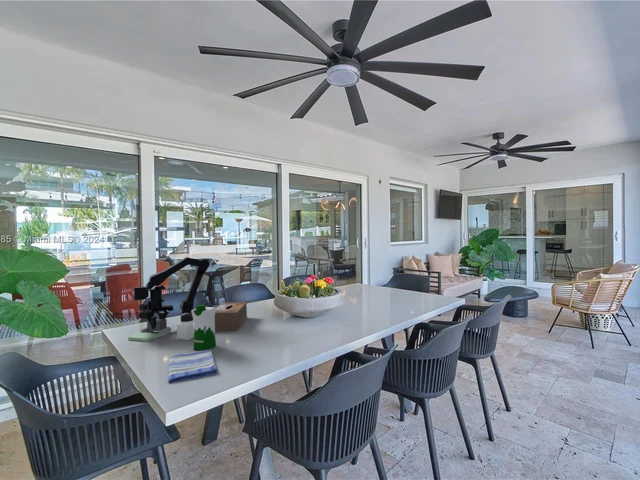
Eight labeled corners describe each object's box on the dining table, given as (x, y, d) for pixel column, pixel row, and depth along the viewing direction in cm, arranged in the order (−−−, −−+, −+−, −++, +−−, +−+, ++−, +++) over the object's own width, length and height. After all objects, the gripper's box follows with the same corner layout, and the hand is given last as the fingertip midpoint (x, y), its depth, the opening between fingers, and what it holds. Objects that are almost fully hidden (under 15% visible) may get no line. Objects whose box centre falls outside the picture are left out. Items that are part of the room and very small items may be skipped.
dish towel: (213, 353, 140) (212, 347, 140) (218, 375, 119) (218, 368, 119) (169, 361, 133) (169, 354, 133) (166, 385, 112) (166, 377, 112)
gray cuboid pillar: (166, 328, 171) (166, 319, 171) (159, 331, 166) (159, 321, 166) (154, 327, 174) (154, 318, 173) (147, 330, 169) (146, 321, 169)
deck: (170, 332, 171) (170, 326, 171) (148, 341, 156) (148, 335, 156) (151, 331, 174) (151, 325, 174) (127, 340, 160) (127, 334, 160)
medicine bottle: (198, 336, 164) (197, 312, 163) (187, 340, 157) (186, 316, 157) (188, 334, 167) (187, 311, 166) (176, 338, 160) (176, 315, 160)
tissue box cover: (223, 318, 197) (222, 302, 197) (246, 318, 198) (246, 302, 198) (210, 331, 172) (209, 313, 171) (237, 331, 172) (236, 312, 172)
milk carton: (190, 350, 144) (189, 305, 143) (203, 343, 152) (202, 301, 152) (206, 352, 141) (205, 307, 140) (219, 345, 149) (218, 302, 149)
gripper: (157, 294, 181) (157, 321, 181) (129, 301, 163) (130, 332, 163) (173, 295, 178) (174, 323, 178) (147, 302, 160) (148, 333, 160)
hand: (157, 327), depth 170 cm, fingers closed on gray cuboid pillar, 5 cm apart
